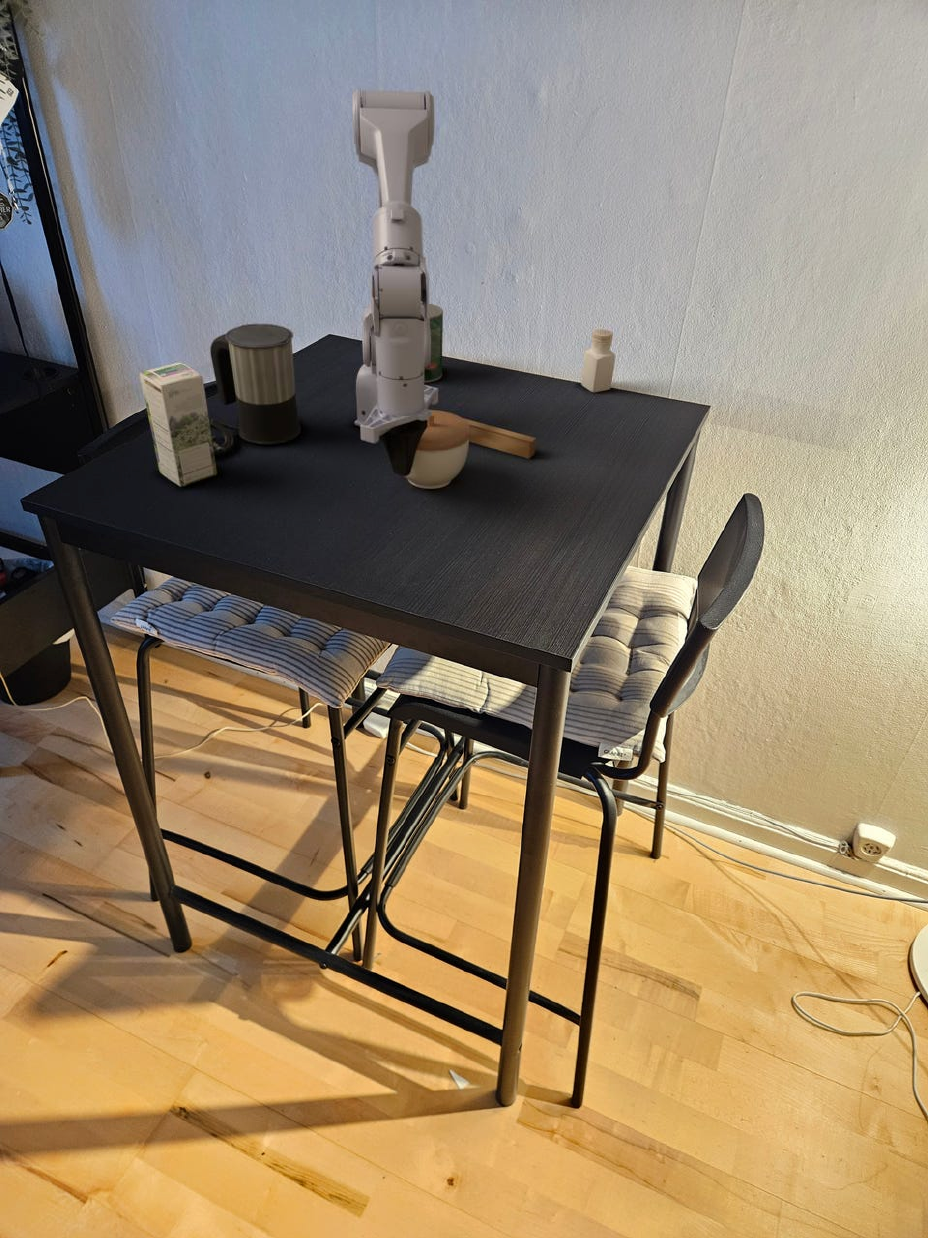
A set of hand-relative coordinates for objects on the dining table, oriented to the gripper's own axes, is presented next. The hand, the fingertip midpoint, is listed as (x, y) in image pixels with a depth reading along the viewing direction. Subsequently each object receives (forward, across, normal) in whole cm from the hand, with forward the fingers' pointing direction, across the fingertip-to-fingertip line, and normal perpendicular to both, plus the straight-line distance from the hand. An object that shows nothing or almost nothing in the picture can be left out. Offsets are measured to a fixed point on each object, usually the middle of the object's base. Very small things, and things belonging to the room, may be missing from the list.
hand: (401, 472), depth 108 cm
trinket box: (+4, +7, 0) cm, 8 cm away
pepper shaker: (+4, +50, -7) cm, 50 cm away
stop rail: (+4, +21, -1) cm, 21 cm away
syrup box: (+4, -10, +28) cm, 30 cm away
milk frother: (+4, +2, +29) cm, 29 cm away
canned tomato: (+4, +38, +21) cm, 43 cm away
